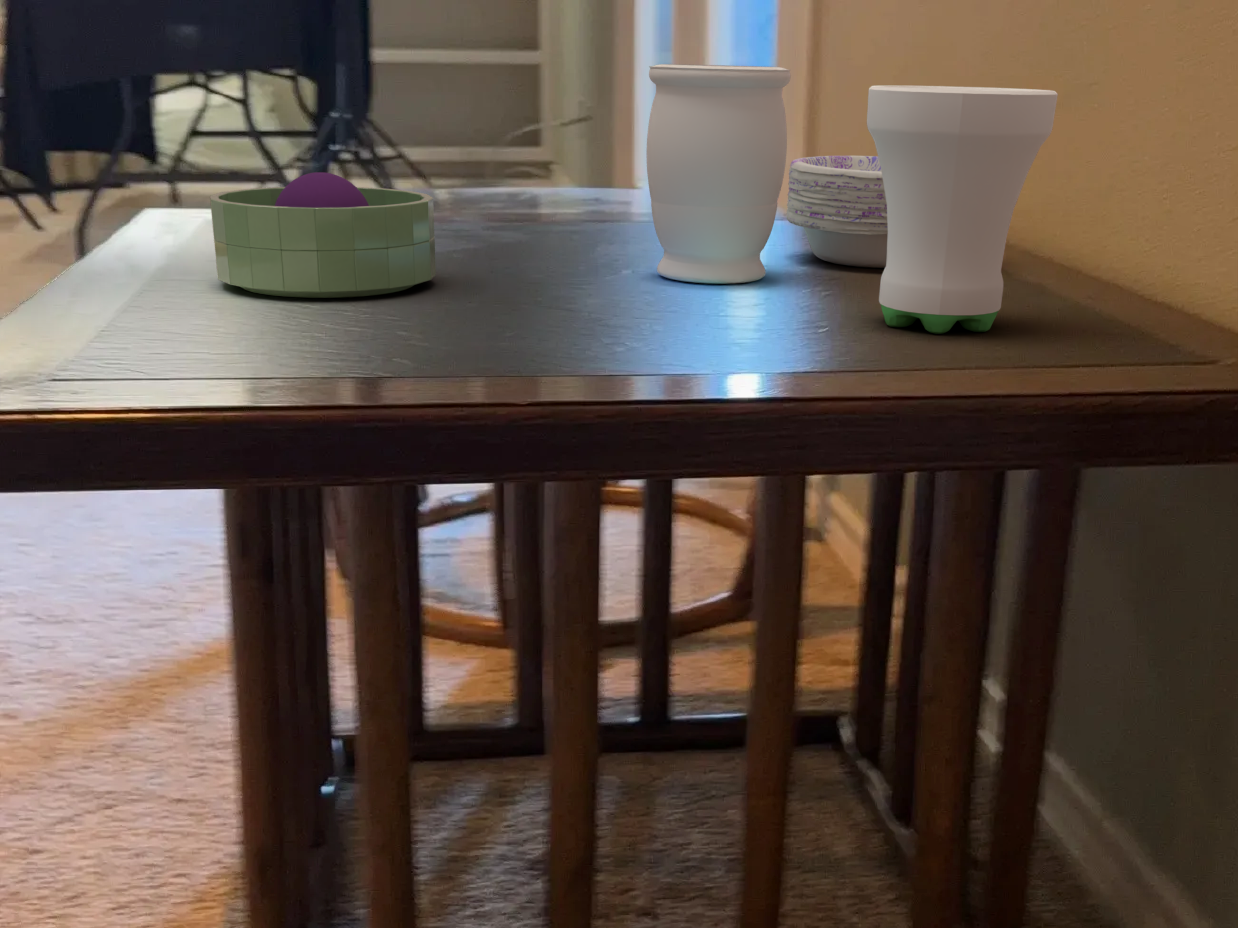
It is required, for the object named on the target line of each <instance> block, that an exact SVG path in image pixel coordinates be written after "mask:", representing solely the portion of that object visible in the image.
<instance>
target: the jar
mask: <svg viewBox="0 0 1238 928" xmlns="http://www.w3.org/2000/svg"><path fill="white" fill-rule="evenodd" d="M648 67H649V71H648V77H649V80H650V81H651V82H652V83H653V84H655V94H654V97H653V100H652V103H651V108H650V112H649V118H648V119H649V120H648V127H647V136H646V173H647V180H648V181H647V182H648V183H647V184H648V190H649V196H650V206H651V207H650V208H651V216H652V221H653V226H654V231H655V234H656V236H657V239H658V242H659V245H660V246H661V247H662V249H663V256H662V258H661V260H660V261H659V262H658V263H657V267H656V272H657V273H658V275H660V276H662V277H664V278H667V279H670V280H675V281H679V282H686V283H687V282H688V283H695V284H696V283H699V284H714V285H715V284H722V285H723V284H726V285H727V284H742V283H750V282H755V281H758V280H761V279H763V278H765V276H766V268H765V266H764V264H763V262H762V260H761V253H762V251H763V250H764V249H765V247H766V244H767V243H768V241H769V238H770V236H771V234H772V231H773V227H774V224H775V220H776V216H777V210H778V200H779V198H780V193H781V191H782V186H783V182H784V176H785V171H786V163H787V149H788V131H787V130H788V129H787V116H786V109H785V102H784V99H783V90H784V87H786V86H788V84H789V83H790V81H791V76H792V75H791V72H790V71H791V69H787V68H785V67H781V66H763V65H762V66H759V65H758V66H757V65H756V66H755V65H721V64H680V63H679V64H677V63H674V64H673V63H672V64H671V63H670V64H669V63H668V64H667V63H662V64H661V63H660V64H655V65H649V66H648Z"/></svg>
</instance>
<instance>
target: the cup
mask: <svg viewBox="0 0 1238 928" xmlns="http://www.w3.org/2000/svg"><path fill="white" fill-rule="evenodd" d="M1058 96H1059V94H1058V92H1056V90H1052V89H1034V88H1014V87H1013V88H1012V87H1011V88H1010V87H988V86H987V87H983V86H951V85H950V86H947V85H899V84H897V85H893V84H892V85H891V84H890V85H886V84H885V85H884V84H883V85H879V84H877V85H871V86H869V88H868V95H867V110H866V111H867V112H866V127H867V130H868V132H869V134H870V136H871V138H872V140H873V141H874V145H875V151H876V154H877V156H878V158H879V162H880V166H881V172H882V178H883V184H884V190H885V196H886V202H887V223H888V239H887V261H886V267H885V268H883V271H882V273H881V277H880V281H879V282H880V285H879V293H878V303H879V304H880V307H881V311H882V314H883V315H882V316H883V318H884V322H885V324H886V325H887V326H889V327H891V328H907V327H910V326H911V325H913V324H914V323H915V322H916V321H917V320H918V319H919V320H920V322H921V324H922V326H923V327H924V329H925V330H926V331H927V332H929V333H930V334H935V335H942V334H945V333H947V332H950V331H951V329H952V328H953V327H954V325H955V324H956V323H957V322H959V325H961V327H962V328H963V329H965V330H966V331H969V332H975V333H985V332H988V331H989V330H990V329H991V327H992V325H993V323H994V321H995V319H996V318H997V316H998V314H999V311H1000V310H1001V308H1002V301H1003V294H1004V278H1003V275H1002V274H1003V273H1002V267H1003V261H1004V256H1005V255H1004V254H1005V250H1006V244H1007V243H1006V242H1007V237H1008V234H1009V230H1010V226H1011V222H1012V217H1013V215H1014V210H1015V207H1016V205H1017V203H1018V199H1019V197H1020V195H1021V192H1022V190H1023V187H1024V184H1025V182H1026V179H1027V177H1028V175H1029V171H1030V170H1031V167H1032V166H1033V163H1034V162H1035V159H1036V157H1037V155H1038V153H1039V151H1040V149H1041V147H1042V146H1043V145H1044V144H1045V142H1046V141H1047V140H1048V138H1049V137H1050V135H1051V134H1052V131H1053V129H1054V128H1053V127H1054V121H1055V115H1056V109H1057V102H1058Z"/></svg>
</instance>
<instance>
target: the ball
mask: <svg viewBox="0 0 1238 928" xmlns="http://www.w3.org/2000/svg"><path fill="white" fill-rule="evenodd" d="M284 187H285V188H284V189H283V191H282V192H281V193H280V195H279V197H278V198H277V201H276V203H275V206H283V207H361V206H369V204H368V202H367V200H366V199H365V197H364V196H363V194H362V193H361V192H360V191H359V190H358V188H357V187H358V186H356V185H355V184H353V183H352V182H350V181H349V180H348V179H346V178H344V177H342V176H340V175H339V174H338V175H337V174H334V173H330V172H324V171H323V172H322V171H321V172H320V171H319V172H317V171H315V172H308V173H305V174H303V175H300V176H298V177H296V178H295V179H293V180H292V181H290V182H289V183H287V185H286V186H284Z"/></svg>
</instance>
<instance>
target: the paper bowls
mask: <svg viewBox="0 0 1238 928" xmlns="http://www.w3.org/2000/svg"><path fill="white" fill-rule="evenodd" d="M786 207H787V209H786V220H787V221H788V223H790V224H792V225H795V226H797V227H802V228H803V230H804V232H805V236H806V239H807V242H808V244H809V247H810V249H811V251H812V253H813V254H814V255H815V256H816V257H817V258H818V259H820V260H822V261H825V262H827V263H832V264H836V265H842V266H847V267H848V266H849V267H857V268H870V269H871V268H874V269H875V268H877V269H885V267H886V261H887V239H888V223H887V202H886V196H885V190H884V184H883V178H882V172H881V166H880V162H879V158H878V155H817V156H807V157H798V158H795V159H793V160H791V162H790V164H789V169H788V192H787V203H786Z"/></svg>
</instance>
